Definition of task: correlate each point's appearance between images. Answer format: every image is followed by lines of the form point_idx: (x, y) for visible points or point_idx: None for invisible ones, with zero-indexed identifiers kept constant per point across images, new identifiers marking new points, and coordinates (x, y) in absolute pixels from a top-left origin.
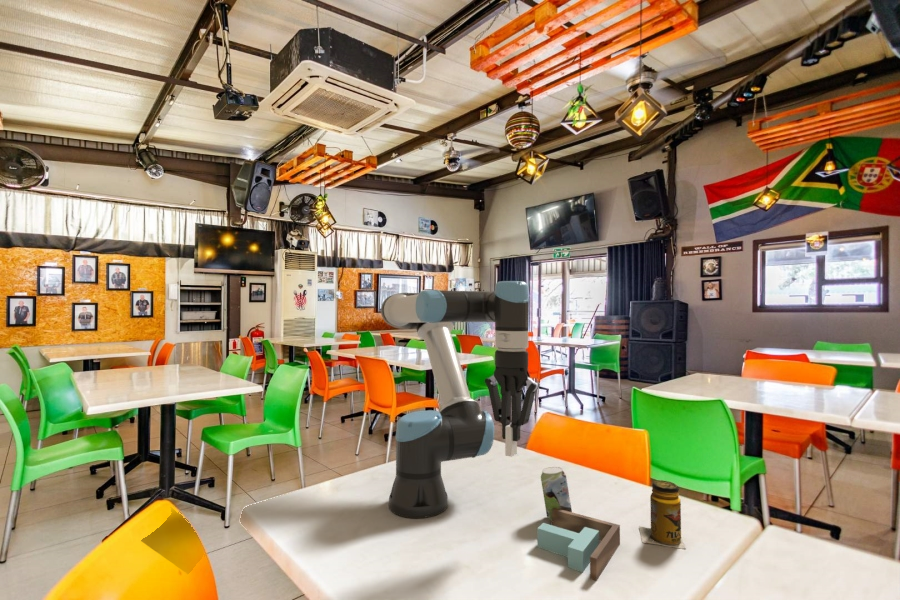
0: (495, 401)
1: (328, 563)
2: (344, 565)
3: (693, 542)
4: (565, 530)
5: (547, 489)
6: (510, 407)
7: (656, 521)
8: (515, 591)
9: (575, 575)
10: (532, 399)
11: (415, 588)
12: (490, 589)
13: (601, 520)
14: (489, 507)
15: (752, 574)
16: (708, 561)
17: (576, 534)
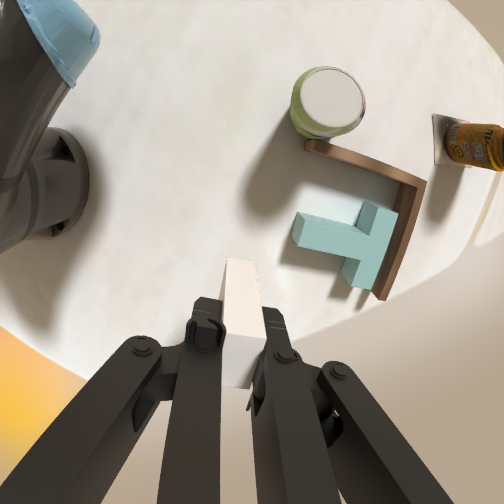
0: (109, 485)
1: (74, 359)
2: (87, 358)
3: None
4: (347, 234)
5: (311, 132)
6: (219, 437)
7: (468, 159)
8: None
9: (349, 287)
10: (425, 495)
11: None
12: None
13: (403, 171)
14: (159, 116)
15: (500, 205)
16: (481, 191)
17: (364, 241)
